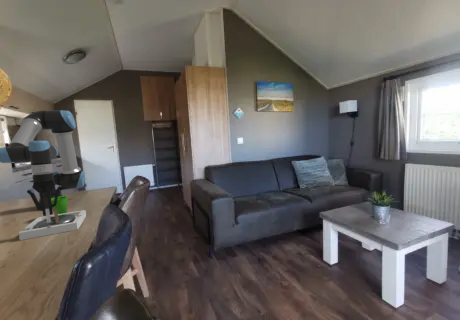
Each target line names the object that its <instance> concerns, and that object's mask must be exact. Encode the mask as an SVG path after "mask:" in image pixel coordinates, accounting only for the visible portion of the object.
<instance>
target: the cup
mask: <svg viewBox="0 0 460 320" xmlns="http://www.w3.org/2000/svg"><path fill="white" fill-rule="evenodd" d="M68 198H69V197H68V195H62V196H60V197H58V199H57V204H56V206H54V207H53V208H52V210H53V209H55V208H56V209H57V212H58V214H63V213H68V212H67V211H68ZM51 201H52V204H54V198H51ZM53 213H54V211H53Z"/></svg>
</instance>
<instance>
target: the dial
mask: <svg viewBox="0 0 460 320" xmlns="http://www.w3.org/2000/svg"><path fill="white" fill-rule="evenodd" d="M52 210H53V211H54V212H53V215H54V217H51V222H49V223H47V219H44V220H42V221H40V222H38V223H37V224H36V229H37V228H43V227H48V226H49V225H51V226H54V225H60V224H66V223H71V222H73V221H74V220H75V215H72V214H67V215H59V216H58V212H57V209H56V208H55V209H52Z"/></svg>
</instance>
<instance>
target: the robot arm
mask: <svg viewBox="0 0 460 320" xmlns="http://www.w3.org/2000/svg"><path fill="white" fill-rule="evenodd" d="M76 124H77V123H76V120H75V118H74V115H73V113H72V112H71V111H69V110H63V109H61V110H60V109H59V110H57V109H56V110H54V109H53V110H37V111H35V112H32V113H30V114H28V115H26V116H24V117H23V119H22V120H21V121H20V125H19V126H20V127H19V129H18V130H17V132H16V134H15V135H14V136H13V138H12V139H11V141H10V142H9V144H8V145H7V146H4V147H0V163H2V164H12V163H22V162H25V163H26V162H30V167H31V173H32V174H33V175H32V182H33V183H32V184H33V185H32V186H31V188H30V189H28V190H27V191H26V193H27V194H28V195H29V196H30V197H31V200H32V201H33V203H34V205H35V208H36V209H37V210H39V211H42V217H44V216H46V218H47V223H49V222H51V218H50V216H51V215H54V212H53V209H52V208H53V207H54V206H56V204H57V199H58V197H60V196H63V194H62V191H65V190H66V191H67V190H75V189H79V188H83V187H84V186H85V181H86V175H85V174H86V173H85V170H82V168H81V167H79V166H78V161H77V160H78V159H77V155H76V149H75V145H74V141H73V140H74V139H73V135H72V134H73V133H74V131H75V130H74V129H76V128H77V127H76ZM42 130H43V131H44V130H50V131H51V133H52V134H54V135H55V140H56V144H57V147H56V146H54V145H51V144H50V142H49V140H34V139H35V138H36V135H37V134H38V133H39V132H41V131H42ZM57 156H59V158H60V162H61V165H62V170H61V171H60V172H59V171H54V169H53V163H52V160H53V159H55V158H56V157H57ZM35 192H37V193H38V195H39V199H38V198H37V196H36V193H35ZM51 198H54V204H52V201H51Z"/></svg>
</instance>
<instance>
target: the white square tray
mask: <svg viewBox="0 0 460 320" xmlns="http://www.w3.org/2000/svg"><path fill="white" fill-rule="evenodd" d="M67 214H72V215H75V220H74V221H73V222H71V223H66V224H60V225H54V226H51V225H49V226H48V227H43V228H37V229H36V224H37V223H38V222H40V221H42V220H44V219H47V218H46V216H39V217H37V218H35V219H34V220H32V222H30V223H29V224H28V225H26V227H24V228H23V229H22V230H20V231H19V232H18V238H19V241H25V240H30V239H36V238H41V237H45V236H51V235H56V234H61V233H66V232H71V231H78V230H79V229H80V226H81V225H82V223H83V222H84V220H85V219H86V218H87V211H86V209H83V210H77V211H71V212H67V213H63V214H58V216H59V215H67ZM51 217H54V214H52V215H50V218H51Z"/></svg>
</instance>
